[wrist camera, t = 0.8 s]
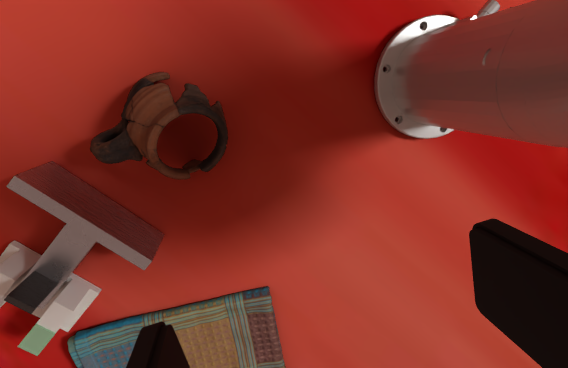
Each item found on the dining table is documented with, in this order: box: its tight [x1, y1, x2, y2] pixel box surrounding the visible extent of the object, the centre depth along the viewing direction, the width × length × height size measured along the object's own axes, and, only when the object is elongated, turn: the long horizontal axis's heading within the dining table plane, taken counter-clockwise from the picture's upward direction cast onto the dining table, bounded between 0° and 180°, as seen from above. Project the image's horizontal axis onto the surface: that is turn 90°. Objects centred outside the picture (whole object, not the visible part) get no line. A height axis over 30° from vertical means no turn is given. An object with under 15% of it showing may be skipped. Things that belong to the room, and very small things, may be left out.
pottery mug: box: [90, 72, 228, 179], centre depth 32 cm, size 12×10×8 cm
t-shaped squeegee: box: [4, 161, 165, 314], centre depth 32 cm, size 12×13×8 cm
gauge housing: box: [0, 240, 102, 356], centre depth 34 cm, size 6×10×5 cm, turn 49°
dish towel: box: [67, 286, 285, 368], centre depth 41 cm, size 17×23×2 cm
